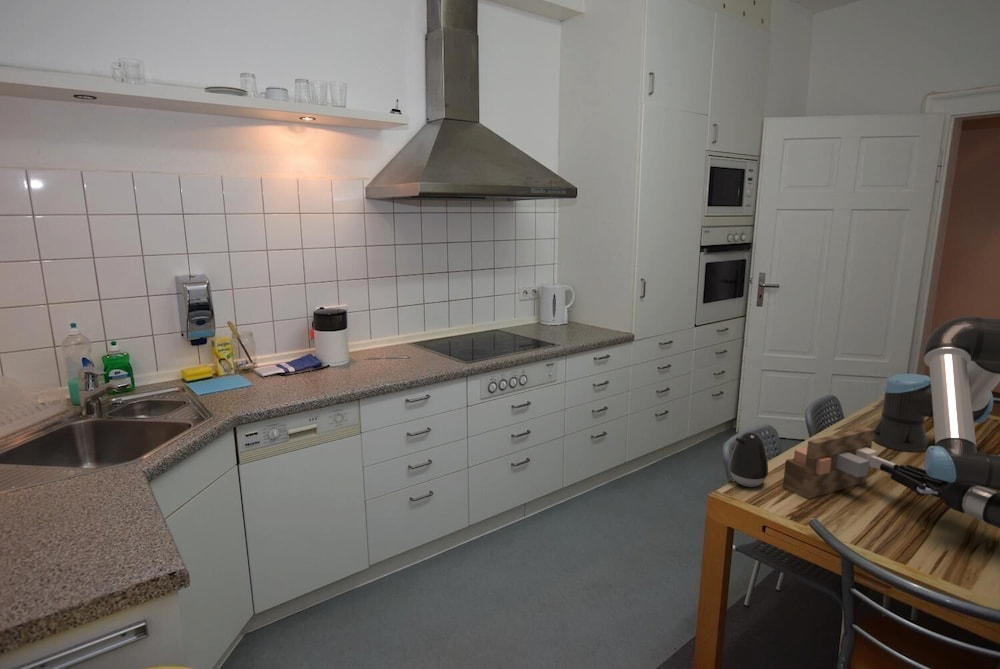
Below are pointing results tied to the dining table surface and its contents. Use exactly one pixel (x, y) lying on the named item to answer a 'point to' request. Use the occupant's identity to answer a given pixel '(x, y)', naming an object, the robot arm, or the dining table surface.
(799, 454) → the key terracotta
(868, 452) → the key ivory
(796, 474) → the key board
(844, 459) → the key slate
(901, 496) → the dining table surface
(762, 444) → the black penguin figurine
